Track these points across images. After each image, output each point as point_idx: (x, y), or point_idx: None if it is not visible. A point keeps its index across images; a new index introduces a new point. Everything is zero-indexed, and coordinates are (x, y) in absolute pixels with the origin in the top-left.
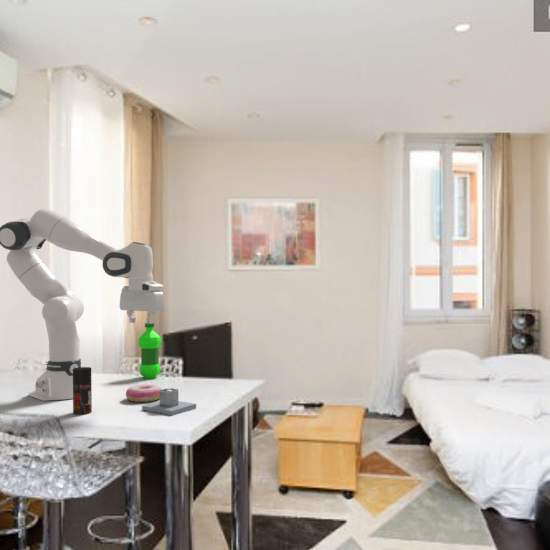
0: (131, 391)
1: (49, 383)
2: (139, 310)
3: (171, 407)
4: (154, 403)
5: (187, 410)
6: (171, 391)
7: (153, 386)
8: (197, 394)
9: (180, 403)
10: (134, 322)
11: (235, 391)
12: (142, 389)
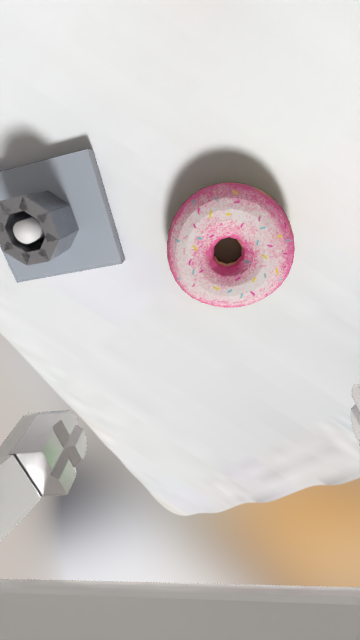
0: (220, 192)
1: None
2: (107, 588)
3: None
4: (93, 201)
5: None
6: (2, 227)
7: (211, 283)
8: (164, 373)
9: None
10: (352, 414)
11: (127, 436)
12: (192, 225)
